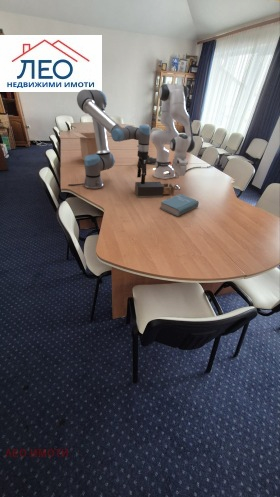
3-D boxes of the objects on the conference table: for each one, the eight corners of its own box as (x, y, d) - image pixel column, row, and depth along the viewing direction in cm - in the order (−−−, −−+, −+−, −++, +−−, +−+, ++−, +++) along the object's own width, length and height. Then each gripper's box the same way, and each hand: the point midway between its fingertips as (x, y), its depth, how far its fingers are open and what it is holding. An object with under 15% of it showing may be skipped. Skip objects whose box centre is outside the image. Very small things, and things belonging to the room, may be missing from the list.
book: (179, 200, 168) (180, 193, 165) (197, 207, 159) (199, 201, 156) (160, 208, 154) (160, 201, 152) (178, 217, 146) (179, 210, 143)
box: (116, 165, 229) (116, 136, 213) (83, 168, 214) (80, 137, 198) (102, 154, 259) (101, 128, 243) (71, 156, 244) (68, 129, 228)
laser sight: (157, 165, 238) (158, 155, 232) (137, 163, 241) (138, 153, 235) (159, 163, 245) (160, 153, 239) (139, 160, 248) (139, 151, 242)
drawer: (176, 189, 183) (177, 182, 179) (180, 194, 175) (181, 187, 171) (147, 190, 178) (148, 183, 174) (150, 195, 170) (151, 187, 166)
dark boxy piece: (158, 191, 181) (160, 181, 176) (162, 196, 172) (164, 186, 167) (134, 191, 176) (135, 181, 172) (137, 197, 168) (138, 187, 163)
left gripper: (134, 146, 163) (132, 174, 175) (141, 155, 143) (139, 186, 156) (144, 146, 164) (142, 174, 177) (152, 155, 145) (149, 186, 158)
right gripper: (171, 155, 170) (168, 173, 178) (180, 163, 154) (177, 182, 163) (178, 155, 172) (176, 173, 180) (188, 163, 156) (185, 182, 164)
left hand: (140, 180), depth 167 cm, fingers open, 13 cm apart
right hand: (176, 177), depth 171 cm, fingers closed
